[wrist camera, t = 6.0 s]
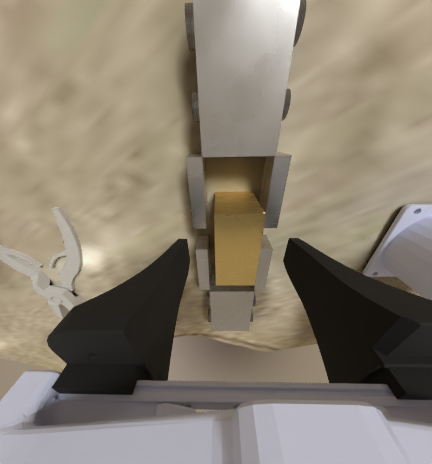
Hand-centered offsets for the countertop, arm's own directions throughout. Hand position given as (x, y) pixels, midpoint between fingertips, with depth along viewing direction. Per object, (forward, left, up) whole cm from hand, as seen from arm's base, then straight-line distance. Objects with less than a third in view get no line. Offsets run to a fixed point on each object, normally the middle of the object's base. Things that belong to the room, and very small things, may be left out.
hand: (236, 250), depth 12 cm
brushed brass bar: (0, 0, -4) cm, 4 cm away
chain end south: (0, -7, -4) cm, 8 cm away
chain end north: (0, +7, -4) cm, 8 cm away
